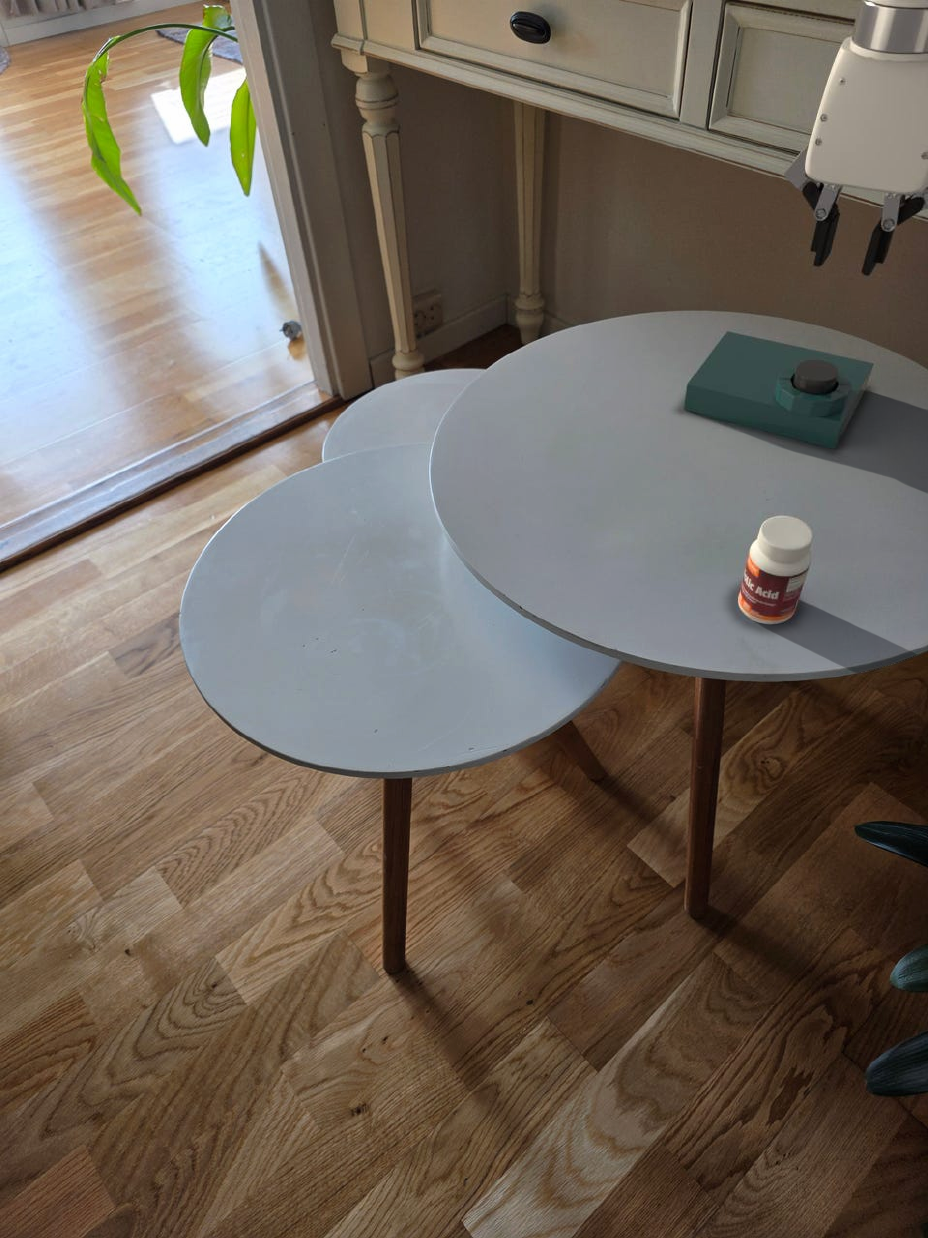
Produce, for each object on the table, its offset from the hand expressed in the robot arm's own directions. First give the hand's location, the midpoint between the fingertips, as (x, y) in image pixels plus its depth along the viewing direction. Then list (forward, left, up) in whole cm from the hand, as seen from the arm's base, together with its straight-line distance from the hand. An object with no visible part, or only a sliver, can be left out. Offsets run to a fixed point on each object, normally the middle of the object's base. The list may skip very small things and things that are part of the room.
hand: (845, 262), depth 78 cm
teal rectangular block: (+4, -3, -17) cm, 18 cm away
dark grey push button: (0, 0, -13) cm, 13 cm away
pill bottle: (-5, +27, -17) cm, 33 cm away
